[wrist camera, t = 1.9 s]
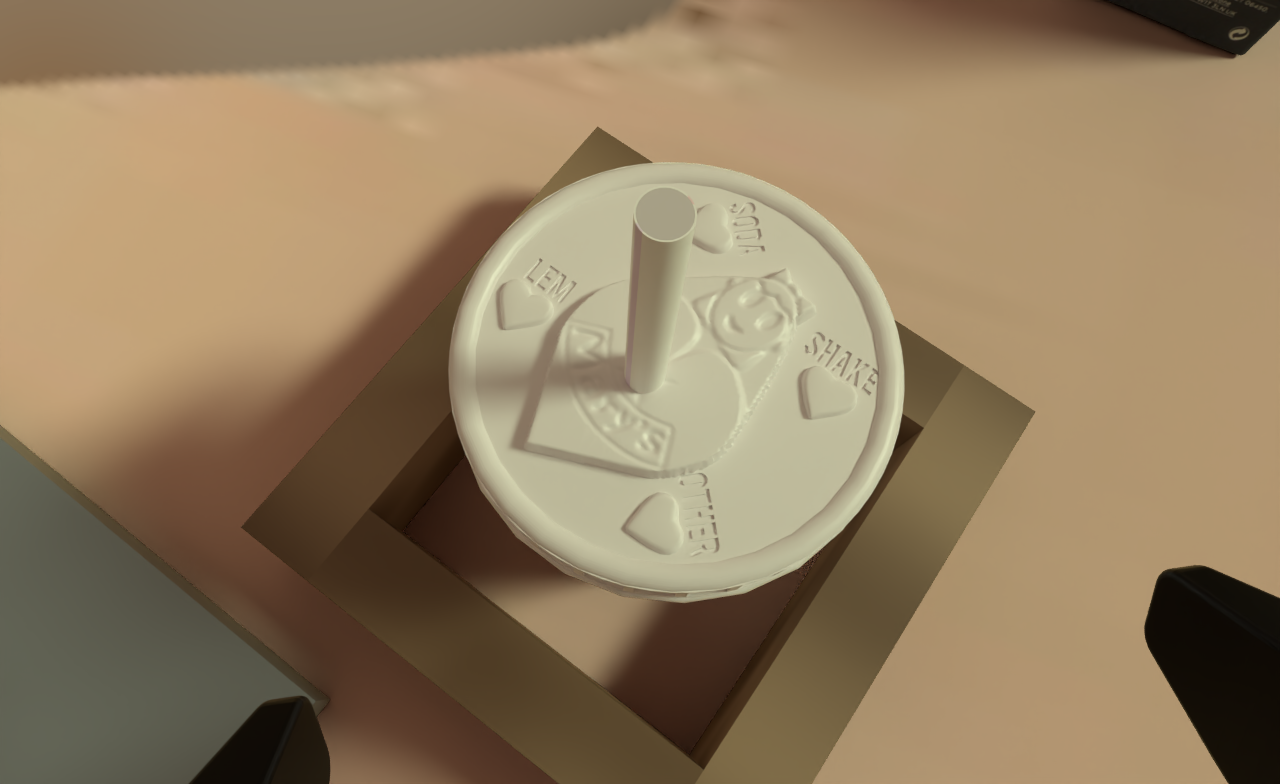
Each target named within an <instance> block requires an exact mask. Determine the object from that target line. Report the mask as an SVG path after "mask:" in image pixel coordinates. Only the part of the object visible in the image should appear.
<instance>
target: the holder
mask: <svg viewBox="0 0 1280 784" xmlns="http://www.w3.org/2000/svg"><path fill="white" fill-rule="evenodd" d="M647 163H653V162H651V161H650V160H648V159H647V158H645V157H643V156H642V155H640V154H639V153H637V152H636V151H634V150H633V149H631V148H630V147H628V146H627V145H625V144H624V143H622V142H620V141H619V140H617V139H616V138H614V137H613V136H611V135H610V134H608V133H607V132H605V131H604V130H602V129H600V128H599V127H597V128H596V129H595V130H594V131H593V132H592V133H591V135H590V136H589V137H588V138H587V139H586V140H585V141H584V142H583V144H582V145H581V146H580V147H579V148H578V149H577V150H576V151H575V153H574V154H573V155H572V156H571V157H570V158H569V159H568V160H567V162H566V163H565V164H564V165H563V166H562V167H561V168H560V169H559V171H558V172H557V173H556V174H555V175H554V176H553V177H552V178H551V180H550V181H549V182H548V183H547V184H546V185H545V186H544V187H543V189H542V190H541V191H540V192H539V193H538V194H537V195H536V196H535V198H534V199H533V200H532V201H531V202H530V203H529V204H528V205H527V207H526V208H525V209H524V210H523V211H522V212H521V213H520V214H519V216H518V217H517V218H516V219H515V220H514V221H513V222H512V223H511V225H512V224H513V223H514V222H515V221H516V220H517V219H518V218H520V217H521V216H522V215H523V214H524V213H526V212H527V211H528V210H529V209H530V208H532V207H533V206H535V205H536V204H538V203H539V202H541V201H542V200H543V199H545V198H546V197H548V196H550V195H551V194H553V193H555V192H557V191H559V190H560V189H562V188H564V187H566V186H568V185H570V184H573V183H575V182H577V181H579V180H581V179H584V178H587V177H590V176H592V175H595V174H598V173H601V172H605V171H609V170H613V169H616V168H620V167H626V166H632V165H638V164H647ZM511 225H510V226H511ZM510 226H509V227H510ZM509 227H508V228H509ZM508 228H507V229H508ZM507 229H506V230H507ZM506 230H505V231H506ZM505 231H504V232H505ZM504 232H503V233H504ZM498 239H499V238H498ZM498 239H497V240H498ZM497 240H496V241H497ZM496 241H495V242H496ZM495 242H494V244H495ZM494 244H493V245H494ZM493 245H492V246H493ZM492 246H491V247H492ZM491 247H490V248H491ZM490 248H489V249H488V250H487V251H486V253H485V254H484V255H483V256H482V257H481V258H480V259H479V260H478V262H477V263H476V264H475V265H474V266H473V267H472V268H471V269H470V271H469V272H468V273H467V274H466V275H465V276H464V277H463V278H462V280H461V281H460V282H459V283H458V284H457V285H456V286H455V287H454V289H453V290H452V291H451V292H450V293H449V294H448V295H447V296H446V298H445V299H444V300H443V301H442V302H441V303H440V304H439V305H438V307H437V308H436V309H435V310H434V311H433V312H432V313H431V314H430V316H429V317H428V318H427V319H426V320H425V321H424V322H423V323H422V325H421V326H420V327H419V328H418V329H417V330H416V331H415V332H414V334H413V335H412V336H411V337H410V338H409V339H408V340H407V341H406V343H405V344H404V345H403V346H402V347H401V348H400V349H399V350H398V351H397V353H396V354H395V355H394V356H393V357H392V358H391V359H390V360H389V362H388V363H387V364H386V365H385V366H384V367H383V368H382V369H381V371H380V372H379V373H378V374H377V375H376V376H375V377H374V378H373V380H372V381H371V382H370V383H369V384H368V385H367V386H366V387H365V389H364V390H363V391H362V392H361V393H360V394H359V395H358V396H357V398H356V399H355V400H354V401H353V402H352V403H351V404H350V405H349V407H348V408H347V409H346V410H345V411H344V412H343V413H342V414H341V416H340V417H339V418H338V419H337V420H336V421H335V422H334V423H333V425H332V426H331V427H330V428H329V429H328V430H327V431H326V432H325V434H324V435H323V436H322V437H321V438H320V439H319V440H318V441H317V443H316V444H315V445H314V446H313V447H312V448H311V449H310V450H309V452H308V453H307V454H306V455H305V456H304V457H303V458H302V459H301V460H300V462H299V463H298V464H297V465H296V466H295V467H294V468H293V469H292V471H291V472H290V473H289V474H288V475H287V476H286V477H285V478H284V480H283V481H282V482H281V483H280V484H279V485H278V486H277V487H276V489H275V490H274V491H273V492H272V493H271V494H270V495H269V496H268V498H267V499H266V500H265V501H264V502H263V503H262V504H261V505H260V507H259V508H258V509H257V510H256V511H255V512H254V513H253V514H252V516H251V517H250V518H249V519H248V520H247V521H246V522H245V523H244V525H243V526H242V527H241V528H243V529H244V530H245V531H246V532H248V533H249V534H250V535H251V536H253V537H254V538H255V539H256V540H257V541H259V542H260V543H261V544H262V545H264V546H265V547H266V548H267V549H269V550H270V551H271V552H272V553H274V554H275V555H276V556H277V557H279V558H280V559H281V560H282V561H283V562H285V563H286V564H287V565H288V566H290V567H291V568H292V569H293V570H295V571H296V572H297V573H298V574H300V575H301V576H302V577H303V578H305V579H306V580H307V581H308V582H309V583H311V584H312V585H313V586H314V587H316V588H317V589H318V590H319V591H321V592H322V593H323V594H324V595H326V596H327V597H328V598H329V599H331V600H332V601H333V602H334V603H335V604H337V605H338V606H339V607H340V608H342V609H343V610H344V611H345V612H347V613H348V614H349V615H350V616H352V617H353V618H354V619H355V620H357V621H358V622H359V623H360V624H362V625H363V626H364V627H365V628H366V629H368V630H369V631H370V632H371V633H373V634H374V635H375V636H376V637H378V638H379V639H380V640H381V641H383V642H384V643H385V644H386V645H388V646H389V647H390V648H391V649H392V650H394V651H395V652H396V653H397V654H399V655H400V656H401V657H402V658H404V659H405V660H406V661H407V662H409V663H410V664H411V665H412V666H414V667H415V668H416V669H417V670H418V671H420V672H421V673H422V674H423V675H425V676H426V677H427V678H428V679H430V680H431V681H432V682H433V683H435V684H436V685H437V686H438V687H440V688H441V689H442V690H443V691H444V692H446V693H447V694H448V695H449V696H451V697H452V698H453V699H454V700H456V701H457V702H458V703H459V704H461V705H462V706H463V707H464V708H466V709H467V710H468V711H469V712H470V713H472V714H473V715H474V716H475V717H477V718H478V719H479V720H480V721H482V722H483V723H484V724H485V725H487V726H488V727H489V728H490V729H492V730H493V731H494V732H495V733H496V734H498V735H499V736H500V737H501V738H503V739H504V740H505V741H506V742H508V743H509V744H510V745H511V746H513V747H514V748H515V749H516V750H518V751H519V752H520V753H521V754H522V755H524V756H525V757H526V758H527V759H529V760H530V761H531V762H532V763H534V764H535V765H536V766H537V767H539V768H540V769H541V770H542V771H544V772H545V773H546V774H547V775H548V776H550V777H551V778H552V779H553V780H555V781H556V782H557V783H558V784H812V782H813V781H814V779H815V777H816V776H817V774H818V772H819V771H820V769H821V767H822V766H823V764H824V762H825V761H826V759H827V757H828V756H829V754H830V752H831V751H832V749H833V747H834V746H835V744H836V742H837V741H838V739H839V737H840V736H841V734H842V732H843V731H844V729H845V727H846V726H847V724H848V722H849V721H850V719H851V718H852V716H853V714H854V713H855V711H856V709H857V708H858V706H859V704H860V703H861V701H862V699H863V698H864V696H865V694H866V693H867V691H868V689H869V688H870V686H871V684H872V683H873V681H874V679H875V678H876V676H877V674H878V673H879V671H880V669H881V668H882V666H883V664H884V663H885V661H886V659H887V658H888V656H889V654H890V653H891V651H892V649H893V648H894V646H895V644H896V643H897V641H898V639H899V638H900V636H901V634H902V633H903V631H904V629H905V628H906V626H907V624H908V623H909V621H910V619H911V618H912V616H913V614H914V613H915V611H916V609H917V608H918V606H919V604H920V603H921V601H922V599H923V598H924V596H925V595H926V593H927V591H928V590H929V588H930V586H931V585H932V583H933V581H934V580H935V578H936V576H937V575H938V573H939V571H940V570H941V568H942V566H943V565H944V563H945V561H946V560H947V558H948V556H949V555H950V553H951V551H952V550H953V548H954V546H955V545H956V543H957V541H958V540H959V538H960V536H961V535H962V533H963V531H964V530H965V528H966V526H967V525H968V523H969V521H970V520H971V518H972V516H973V515H974V513H975V511H976V510H977V508H978V506H979V505H980V503H981V501H982V500H983V498H984V496H985V495H986V493H987V491H988V490H989V488H990V486H991V485H992V483H993V481H994V480H995V478H996V476H997V475H998V473H999V471H1000V470H1001V468H1002V467H1003V465H1004V463H1005V462H1006V460H1007V458H1008V457H1009V455H1010V453H1011V452H1012V450H1013V448H1014V447H1015V445H1016V443H1017V442H1018V440H1019V438H1020V437H1021V435H1022V433H1023V432H1024V430H1025V428H1026V427H1027V425H1028V423H1029V422H1030V420H1031V418H1032V417H1033V415H1034V413H1035V411H1034V410H1032V409H1031V408H1029V407H1027V406H1026V405H1024V404H1023V403H1021V402H1020V401H1018V400H1017V399H1015V398H1014V397H1012V396H1011V395H1009V394H1007V393H1006V392H1004V391H1003V390H1001V389H1000V388H998V387H997V386H995V385H994V384H992V383H991V382H989V381H988V380H986V379H984V378H983V377H981V376H980V375H978V374H977V373H975V372H974V371H972V370H971V369H969V368H968V367H966V366H964V365H963V364H961V363H960V362H958V361H957V360H955V359H954V358H952V357H951V356H949V355H948V354H946V353H945V352H943V351H941V350H940V349H938V348H937V347H935V346H934V345H932V344H931V343H929V342H928V341H926V340H925V339H923V338H921V337H920V336H918V335H917V334H915V333H914V332H912V331H911V330H909V329H908V328H906V327H905V326H903V325H902V324H900V323H898V322H897V321H895V320H894V321H895V324H896V327H897V330H898V334H899V339H900V344H901V348H902V356H903V364H904V402H903V412H902V418H901V423H900V428H899V433H898V436H897V439H896V442H895V446H894V449H893V452H892V455H891V457H890V459H889V462H888V464H887V466H886V469H885V471H884V473H883V475H882V477H881V479H880V480H879V482H878V484H877V486H876V487H875V489H874V491H873V493H872V494H871V496H870V497H869V498H868V500H867V501H866V502H865V504H864V505H863V507H862V508H861V509H860V511H859V512H858V513H857V514H856V515H855V516H854V517H853V519H852V520H851V521H850V522H849V523H848V524H847V525H846V526H845V528H844V529H843V530H842V531H841V532H840V533H839V534H838V535H837V536H836V537H834V538H833V539H832V540H831V541H830V542H829V543H827V545H826V546H825V548H824V549H823V551H822V552H821V554H820V555H819V557H818V558H817V560H816V561H815V563H814V565H813V566H812V568H811V569H810V571H809V572H808V574H807V575H806V577H805V578H804V580H803V581H802V583H801V584H800V586H799V588H798V589H797V591H796V592H795V594H794V595H793V597H792V598H791V600H790V601H789V603H788V604H787V606H786V607H785V609H784V611H783V612H782V614H781V615H780V617H779V618H778V620H777V621H776V623H775V624H774V626H773V627H772V629H771V630H770V632H769V634H768V635H767V637H766V638H765V640H764V641H763V643H762V644H761V646H760V647H759V649H758V650H757V652H756V653H755V655H754V656H753V658H752V660H751V661H750V663H749V664H748V666H747V667H746V669H745V670H744V672H743V673H742V675H741V676H740V678H739V679H738V681H737V683H736V684H735V686H734V687H733V689H732V690H731V692H730V693H729V695H728V696H727V698H726V699H725V701H724V702H723V704H722V706H721V707H720V709H719V710H718V712H717V713H716V715H715V716H714V718H713V719H712V721H711V722H710V724H709V725H708V727H707V729H706V730H705V732H704V733H703V735H702V736H701V738H700V739H699V741H698V742H697V744H696V745H695V747H694V748H693V750H692V752H691V753H690V755H689V754H688V753H686V752H685V751H684V750H683V749H681V748H680V747H679V746H677V745H676V744H675V743H674V742H672V741H671V740H670V739H668V738H667V737H666V736H665V735H663V734H662V733H661V732H659V731H658V730H657V729H656V728H654V727H653V726H652V725H650V724H649V723H648V722H647V721H645V720H644V719H643V718H641V717H640V716H639V715H638V714H636V713H635V712H634V711H632V710H631V709H630V708H628V707H627V706H626V705H625V704H623V703H622V702H621V701H619V700H618V699H617V698H616V697H614V696H613V695H612V694H610V693H609V692H608V691H607V690H605V689H604V688H603V687H601V686H600V685H599V684H598V683H596V682H595V681H594V680H592V679H591V678H590V677H589V676H587V675H586V674H585V673H583V672H582V671H581V670H580V669H578V668H577V667H576V666H574V665H573V664H572V663H571V662H569V661H568V660H567V659H565V658H564V657H563V656H562V655H560V654H559V653H558V652H556V651H555V650H554V649H553V648H551V647H550V646H549V645H547V644H546V643H545V642H544V641H542V640H541V639H540V638H538V637H537V636H536V635H535V634H533V633H532V632H531V631H529V630H528V629H527V628H526V627H524V626H523V625H522V624H520V623H519V622H518V621H517V620H515V619H514V618H513V617H511V616H510V615H509V614H508V613H506V612H505V611H504V610H502V609H501V608H500V607H499V606H497V605H496V604H495V603H493V602H492V601H491V600H490V599H488V598H487V597H486V596H484V595H483V594H482V593H481V592H479V591H478V590H477V589H475V588H474V587H473V586H472V585H470V584H469V583H468V582H466V581H465V580H464V579H463V578H461V577H460V576H459V575H457V574H456V573H455V572H454V571H452V570H451V569H450V568H448V567H447V566H446V565H445V564H443V563H442V562H441V561H439V560H438V559H437V558H436V557H434V556H433V555H432V554H430V553H429V552H428V551H427V550H425V549H424V548H423V547H421V546H420V545H419V544H418V543H416V542H415V541H414V540H412V539H411V538H410V537H409V536H407V535H406V534H405V533H403V532H402V531H403V529H404V528H405V527H406V526H407V525H408V523H409V522H410V521H411V520H412V519H413V517H414V516H415V515H416V514H417V512H418V511H419V510H420V509H421V508H422V506H423V505H424V504H425V503H426V502H427V500H428V499H429V498H430V497H431V495H432V494H433V493H434V492H435V491H436V489H437V488H438V487H439V486H440V485H441V483H442V482H443V481H444V480H445V479H446V477H447V476H448V475H449V474H450V472H451V471H452V470H453V469H454V468H455V466H456V465H457V464H458V463H459V462H460V460H461V459H462V458H463V457H464V455H465V451H464V449H463V446H462V443H461V441H460V438H459V435H458V432H457V428H456V424H455V420H454V417H453V413H452V406H451V399H450V393H449V373H448V368H449V352H450V344H451V338H452V332H453V327H454V323H455V320H456V316H457V312H458V309H459V306H460V303H461V301H462V298H463V296H464V293H465V291H466V288H467V286H468V284H469V282H470V280H471V278H472V277H473V275H474V273H475V271H476V269H477V267H478V266H479V264H480V263H481V261H482V260H483V258H484V257H485V255H486V254H487V252H488V251H489V250H490Z"/></svg>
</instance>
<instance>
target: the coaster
mask: <svg viewBox="0 0 1280 784" xmlns="http://www.w3.org/2000/svg"><path fill="white" fill-rule="evenodd" d="M299 695H301V696H305V697H307V698H308V699H309V700H310V702H311V703H312V706H313V708H314V711H315V714H316V717H317V716H318V714H319V713H320V712H321V711H322V709H323V708H324V707H325V706H326V704H327V703H328V702H329V701H330V699H329V698H328V697H326V696H325V695H324V694H323V693H322V692H320V691H319V690H318V689H317V688H316V687H314V686H313V685H312V684H311V683H310V682H308V681H307V680H306V679H305V678H304V677H302V676H301V675H300V674H299V673H298V672H296V671H295V670H294V669H293V668H292V667H290V666H289V665H288V664H287V663H286V662H284V661H283V660H282V659H281V658H280V657H278V656H277V655H276V654H275V653H274V652H272V651H271V650H270V649H269V648H268V647H266V646H265V645H264V644H263V643H262V642H260V641H259V640H258V639H257V638H256V637H254V636H253V635H252V634H251V633H250V632H248V631H247V630H246V629H245V628H244V627H242V626H241V625H240V624H239V623H237V622H236V621H235V620H234V619H233V618H231V617H230V616H229V615H228V614H227V613H225V612H224V611H223V610H222V609H221V608H219V607H218V606H217V605H216V604H215V603H213V602H212V601H211V600H210V599H209V598H207V597H206V596H205V595H204V594H203V593H201V592H200V591H199V590H198V589H197V588H195V587H194V586H193V585H192V584H191V583H189V582H188V581H187V580H186V579H185V578H183V577H182V576H181V575H180V574H179V573H177V572H176V571H175V570H174V569H173V568H171V567H170V566H169V565H168V564H167V563H165V562H164V561H163V560H162V559H161V558H159V557H158V556H157V555H156V554H155V553H153V552H152V551H151V550H150V549H149V548H147V547H146V546H145V545H144V544H143V543H141V542H140V541H139V540H138V539H137V538H135V537H134V536H133V535H132V534H130V533H129V532H128V531H127V530H126V529H124V528H123V527H122V526H121V525H120V524H118V523H117V522H116V521H115V520H114V519H112V518H111V517H110V516H109V515H108V514H106V513H105V512H104V511H103V510H102V509H100V508H99V507H98V506H97V505H96V504H94V503H93V502H92V501H91V500H90V499H88V498H87V497H86V496H85V495H84V494H82V493H81V492H80V491H79V490H78V489H76V488H75V487H74V486H73V485H72V484H70V483H69V482H68V481H67V480H66V479H64V478H63V477H62V476H61V475H60V474H58V473H57V472H56V471H55V470H54V469H52V468H51V467H50V466H49V465H48V464H46V463H45V462H44V461H43V460H42V459H40V458H39V457H38V456H37V455H36V454H34V453H33V452H32V451H31V450H30V449H28V448H27V447H26V446H25V445H24V444H22V443H21V442H20V441H19V440H17V439H16V438H15V437H14V436H13V435H11V434H10V433H9V432H8V431H7V430H5V429H4V428H3V427H2V426H1V425H0V784H188V783H189V782H190V781H191V780H192V779H193V778H194V777H195V776H196V775H197V773H198V772H199V771H200V770H201V769H202V768H203V767H204V766H205V765H206V764H207V762H208V761H209V760H210V759H211V758H212V757H213V756H214V755H215V754H216V752H217V751H218V750H219V749H220V748H221V747H222V746H223V745H224V744H225V743H226V741H227V740H228V739H229V738H230V737H231V736H232V735H233V734H234V733H235V731H236V730H237V729H238V728H239V727H240V726H241V725H242V724H243V723H244V722H245V720H246V719H247V718H248V717H249V716H250V715H251V714H252V713H253V712H254V710H255V709H256V708H257V707H258V706H259V705H261V704H262V703H263V702H265V701H268V700H272V699H278V698H285V697H292V696H299Z"/></svg>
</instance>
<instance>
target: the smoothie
mask: <svg viewBox="0 0 1280 784" xmlns="http://www.w3.org/2000/svg"><path fill="white" fill-rule="evenodd" d="M448 373H449V393H450V399H451V406H452V413H453V417H454V420H455V424H456V428H457V432H458V435H459V438H460V441H461V443H462V446H463V449H464V451H465V454H466V456H467V458H468V460H469V463H470V465H471V468H472V470H473V473H474V475H475V478H476V480H477V483H478V485H479V488H480V490H481V492H482V493H483V494H484V495H485V497H486V498H487V499H488V501H489V502H490V503H491V505H492V506H493V507H494V509H495V510H496V511H497V512H498V514H499V515H500V516H501V518H502V519H503V520H504V522H505V523H506V524H507V526H508V527H509V528H510V530H511V531H512V532H513V533H514V535H515V536H516V537H517V538H518V539H519V540H521V541H522V542H523V543H525V544H526V545H527V546H529V547H530V548H531V549H533V550H534V551H535V552H537V553H538V554H539V555H541V556H542V557H543V558H545V559H546V560H547V561H549V562H550V563H551V564H553V565H554V566H555V567H557V568H558V569H559V570H561V571H562V572H563V573H565V574H567V575H569V576H572V577H574V578H577V579H579V580H582V581H584V582H587V583H590V584H592V585H595V586H597V587H600V588H602V589H605V590H607V591H610V592H612V593H615V594H617V595H620V596H623V597H632V598H641V599H650V600H659V601H668V602H677V603H688V602H695V601H701V600H707V599H713V598H719V597H726V596H732V595H738V594H744V593H747V592H749V591H751V590H753V589H755V588H757V587H759V586H762V585H764V584H766V583H768V582H770V581H772V580H775V579H777V578H779V577H781V576H783V575H785V574H787V573H790V572H792V571H794V570H796V569H798V568H800V567H801V566H802V565H803V564H804V563H805V562H807V561H808V560H809V559H810V558H811V557H812V556H814V555H815V554H816V553H817V552H818V551H819V550H821V549H822V548H823V547H824V546H825V545H826V544H827V543H829V542H830V541H831V540H832V539H833V538H834V537H836V536H837V535H838V534H839V533H840V532H841V531H842V530H843V529H844V528H845V526H846V525H847V524H848V523H849V522H850V521H851V520H852V519H853V517H854V516H855V515H856V514H857V513H858V512H859V511H860V509H861V508H862V507H863V505H864V504H865V502H866V501H867V500H868V498H869V497H870V496H871V494H872V493H873V491H874V489H875V487H876V486H877V484H878V482H879V480H880V479H881V477H882V475H883V473H884V471H885V469H886V466H887V464H888V462H889V459H890V457H891V455H892V452H893V449H894V446H895V442H896V439H897V436H898V433H899V428H900V423H901V418H902V412H903V402H904V364H903V356H902V348H901V344H900V339H899V334H898V330H897V327H896V324H895V321H894V317H893V314H892V311H891V309H890V306H889V304H888V302H887V299H886V297H885V295H884V293H883V290H882V289H881V287H880V285H879V283H878V281H877V280H876V278H875V276H874V274H873V272H872V271H871V270H870V268H869V267H868V265H867V264H866V262H865V261H864V259H863V258H862V256H861V255H860V254H859V253H858V251H857V250H856V249H855V248H854V247H853V245H852V244H851V243H850V242H849V241H848V239H847V238H846V237H845V236H844V235H843V234H842V233H841V232H840V231H839V230H838V229H837V228H836V227H835V226H834V225H833V224H831V223H830V222H829V221H828V220H827V219H825V218H824V217H823V216H822V215H821V214H819V213H818V212H817V211H816V210H814V209H813V208H811V207H810V206H808V205H807V204H805V203H804V202H803V201H801V200H800V199H798V198H796V197H794V196H793V195H791V194H789V193H787V192H786V191H784V190H782V189H780V188H778V187H776V186H774V185H772V184H769V183H767V182H765V181H763V180H760V179H757V178H755V177H752V176H749V175H746V174H744V173H740V172H736V171H732V170H729V169H725V168H720V167H715V166H709V165H704V164H693V163H679V162H660V163H647V164H638V165H632V166H626V167H620V168H616V169H613V170H609V171H605V172H601V173H598V174H595V175H592V176H590V177H587V178H584V179H581V180H579V181H577V182H575V183H573V184H570V185H568V186H566V187H564V188H562V189H560V190H559V191H557V192H555V193H553V194H551V195H550V196H548V197H546V198H545V199H543V200H542V201H541V202H539V203H538V204H536V205H535V206H533V207H532V208H530V209H529V210H528V211H527V212H526V213H524V214H523V215H522V216H521V217H520V218H518V219H517V220H516V221H515V222H514V223H513V224H512V225H511V226H510V227H509V228H508V229H507V230H506V231H505V232H504V233H503V234H502V235H501V236H500V237H499V239H498V240H497V241H496V242H495V244H494V245H493V246H492V247H491V248H490V250H489V251H488V252H487V254H486V255H485V257H484V258H483V260H482V261H481V263H480V264H479V266H478V267H477V269H476V271H475V273H474V275H473V277H472V278H471V280H470V282H469V284H468V286H467V288H466V291H465V293H464V296H463V298H462V301H461V303H460V306H459V309H458V312H457V316H456V320H455V323H454V327H453V332H452V338H451V344H450V352H449V368H448Z"/></svg>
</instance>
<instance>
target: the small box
mask: <svg viewBox="0 0 1280 784" xmlns="http://www.w3.org/2000/svg"><path fill="white" fill-rule="evenodd" d="M1108 1H1110V2H1112V3H1115V4H1118V5H1120V6H1123V7H1125V8H1128V9H1130V10H1132V11H1134V12H1137V13H1139V14H1141V15H1143V16H1146V17H1148V18H1151V19H1153V20H1155V21H1158V22H1160V23H1162V24H1164V25H1167V26H1169V27H1171V28H1174V29H1176V30H1178V31H1181V32H1183V33H1185V34H1186V35H1188V36H1190V37H1194V38H1196V39H1199V40H1201V41H1203V42H1206V43H1208V44H1210V45H1213V46H1216V47H1219V48H1221V49H1224V50H1226V51H1229V52H1232V53H1234V54H1238V55H1244V54H1245V53H1246V52H1247V51H1248V50H1249V49H1250V48H1251V47H1252V46H1253V45H1254V44H1255V43H1256V42H1257V41H1258V40H1259V39H1260V38H1261V37H1262V36H1264V35H1265V34H1266V33H1267V32H1268V31H1269V30H1270V29H1271V28H1272V27H1273V26H1274V25H1275V24H1276V23H1277V22H1278V21H1279V20H1280V0H1108Z"/></svg>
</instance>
